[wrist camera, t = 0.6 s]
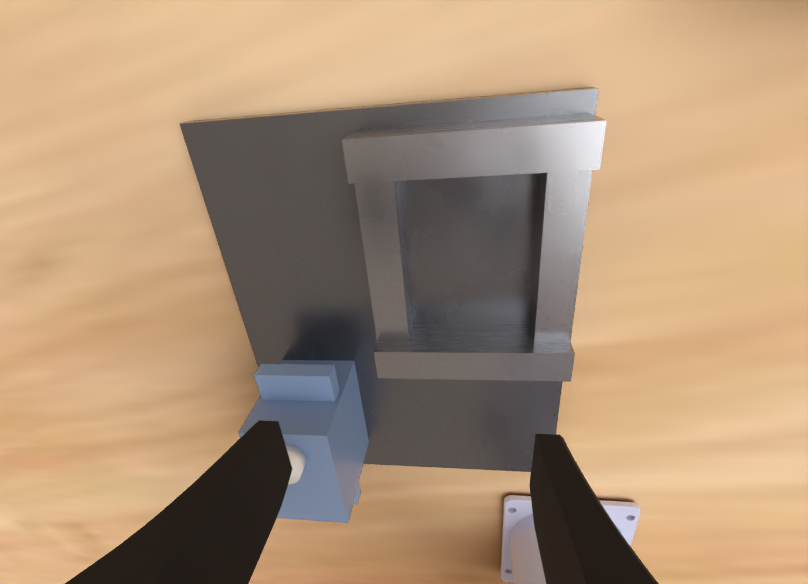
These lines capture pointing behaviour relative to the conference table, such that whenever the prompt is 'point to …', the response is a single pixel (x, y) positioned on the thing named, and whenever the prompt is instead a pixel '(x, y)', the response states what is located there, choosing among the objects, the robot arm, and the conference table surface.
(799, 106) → the conference table surface
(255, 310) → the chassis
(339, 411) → the servo
